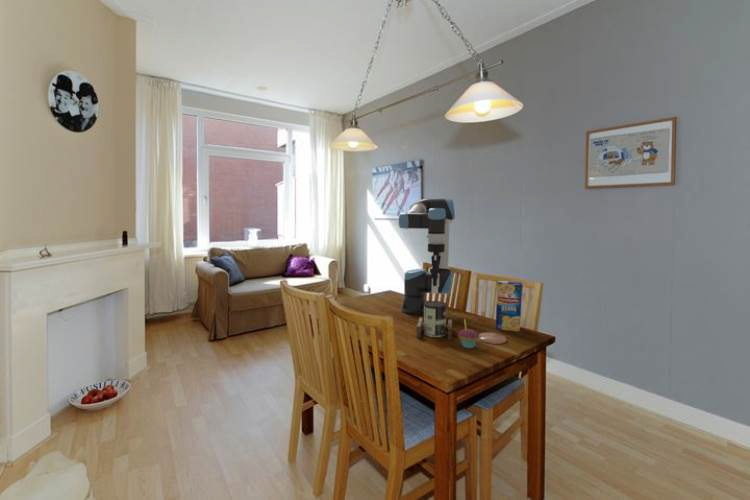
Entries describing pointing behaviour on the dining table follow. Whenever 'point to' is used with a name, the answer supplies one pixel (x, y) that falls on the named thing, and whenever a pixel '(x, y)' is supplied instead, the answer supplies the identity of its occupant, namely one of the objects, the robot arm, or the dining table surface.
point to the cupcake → (468, 337)
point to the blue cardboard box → (508, 305)
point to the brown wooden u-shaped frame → (421, 326)
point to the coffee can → (435, 318)
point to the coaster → (492, 338)
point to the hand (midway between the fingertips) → (435, 289)
